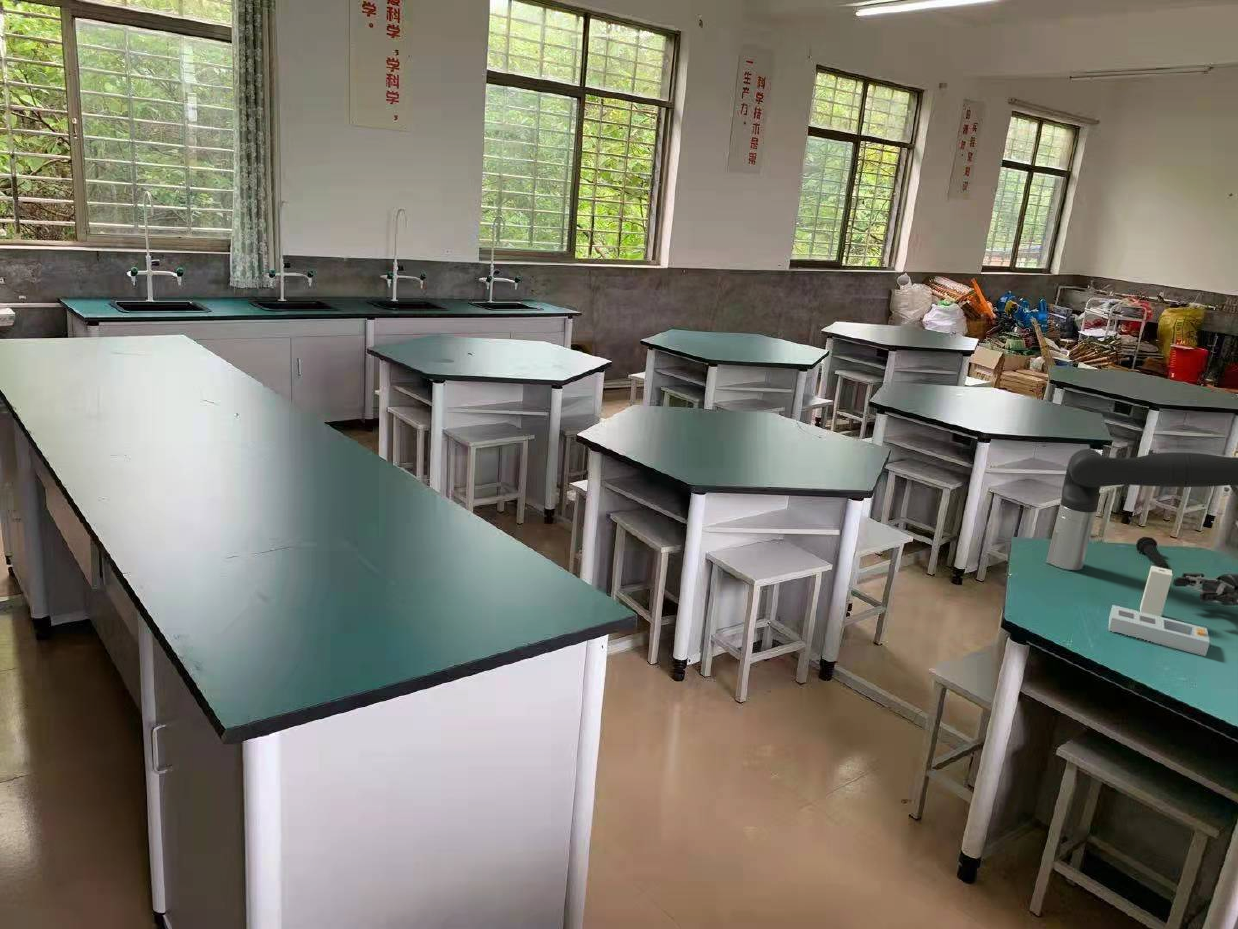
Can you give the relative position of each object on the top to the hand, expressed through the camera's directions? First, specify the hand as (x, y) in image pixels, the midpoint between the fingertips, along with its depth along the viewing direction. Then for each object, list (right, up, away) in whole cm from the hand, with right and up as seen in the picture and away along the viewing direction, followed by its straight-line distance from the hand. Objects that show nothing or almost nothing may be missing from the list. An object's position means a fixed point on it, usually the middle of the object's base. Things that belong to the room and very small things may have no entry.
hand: (1187, 588), depth 229 cm
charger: (-10, -6, 0) cm, 12 cm away
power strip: (-15, -10, -12) cm, 22 cm away
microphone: (+14, +2, +39) cm, 41 cm away
